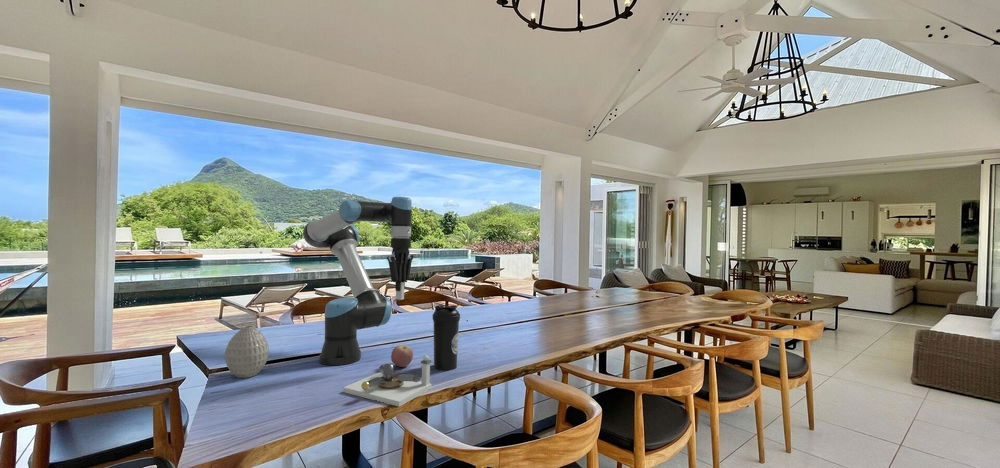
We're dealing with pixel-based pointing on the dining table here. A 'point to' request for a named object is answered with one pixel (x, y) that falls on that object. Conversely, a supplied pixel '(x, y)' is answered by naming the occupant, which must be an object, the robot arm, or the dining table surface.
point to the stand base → (396, 394)
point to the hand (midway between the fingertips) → (399, 299)
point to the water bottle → (446, 337)
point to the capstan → (389, 379)
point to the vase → (246, 352)
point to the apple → (402, 355)
